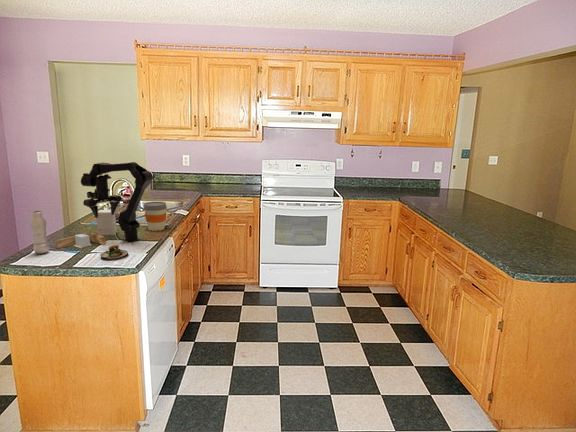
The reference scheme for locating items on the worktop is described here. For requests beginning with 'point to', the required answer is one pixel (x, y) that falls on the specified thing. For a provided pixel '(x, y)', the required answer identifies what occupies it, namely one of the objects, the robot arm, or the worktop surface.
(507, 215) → the worktop surface
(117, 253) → the burger
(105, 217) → the small box
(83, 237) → the block
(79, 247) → the pad
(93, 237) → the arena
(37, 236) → the plastic bottle
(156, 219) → the reusable coffee cup
